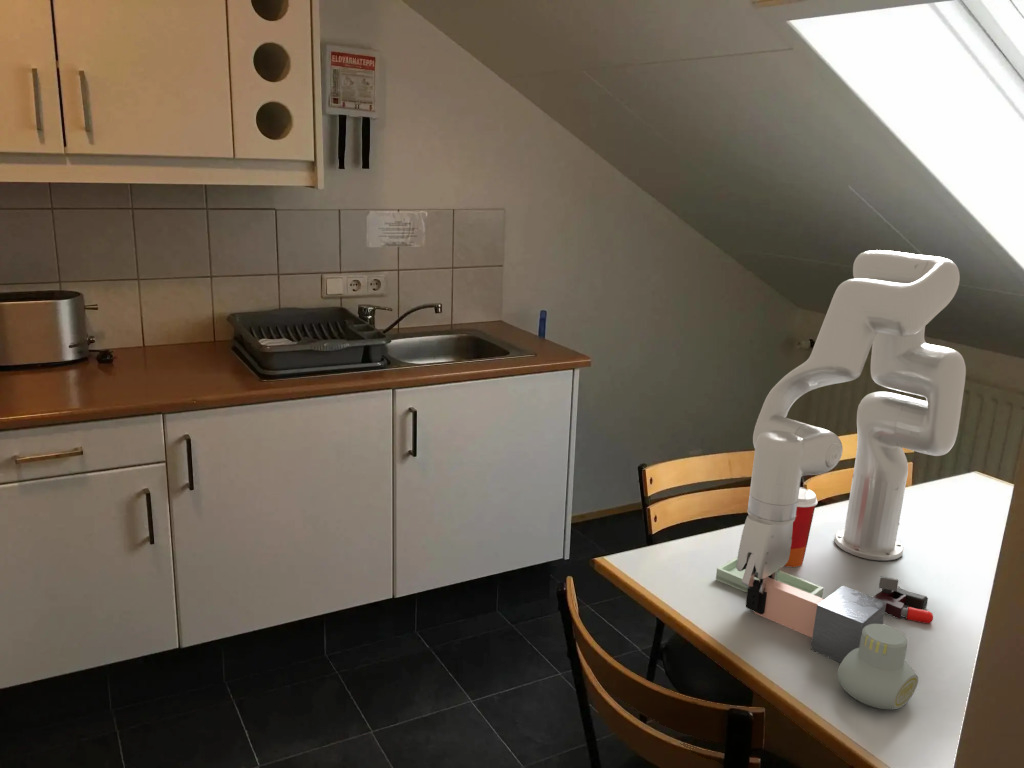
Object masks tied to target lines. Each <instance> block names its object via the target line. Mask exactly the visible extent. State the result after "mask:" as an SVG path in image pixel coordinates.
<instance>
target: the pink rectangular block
mask: <svg viewBox="0 0 1024 768" xmlns="http://www.w3.org/2000/svg"><path fill="white" fill-rule="evenodd" d="M759 582H760V580H759ZM765 592H767V596H766V604H765V611H764V613H763V614H759V613H757V612H755V611H753V612H754V614H755V615H758V616H760V617H762V618H765V619H767V620H770V621H773V622H775V623H777V624H779V625H782V626H783V627H787V628H789V629H791V630H793V631H795V632H797V633H800V634H802V635H804V636H807V637H809V638H812V637H813V630H814V623H815V617H816V610H817V605H818V604H819V603H820V602H822V601H823V600H824V599H825V598H823V597H822V598H820V597H818V596H815V595H812V594H810V593H807V592H805V591H802V590H800V589H797V588H795V587H792V586H790V585H787V584H784V583H782V582H779V581H777V580H774V579H772V578H769V577H767V580H766V588H765Z"/></svg>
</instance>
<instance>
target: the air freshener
mask: <svg viewBox="0 0 1024 768" xmlns="http://www.w3.org/2000/svg"><path fill="white" fill-rule="evenodd" d="M907 647H908V638H907V636H906V635H905V634H904V633H903V632H902V631H901V630H899V629H897V628H895V627H894V626H891V625H887V624H885V623H883V624H870V625H867V626H865V627H864V628H863V630H862V635H861V641H860V646H859V648H856V649H854V650H852V651H851V652H850V653H849V654H847V656H846V657H845V658H844V659H843V661H842V662H841V663H840V664H839V666H838V668H837V672H836V676H837V679H838V682H839V683H840V685H841V687H842V688H843V689H844V690H845V692H846V693H848V695H850V696H851V697H853V698H854V699H855V700H856V701H858V702H860V703H862V704H864V705H865V706H869V707H872V708H877V709H881V710H896V709H897V710H898V709H901V708H902V707H903V706H905V705H906V704H907V702H909V700H910V699H911V698H912V696H913V694H914V692H915V691H916V689H917V686H918V684H919V683H918V682H919V677H918V674H917V673H916V671H915V670H914V668H913V667H912V666H911V665H910V664H909V663H908V662H907V661H906V660H905V659H906V653H907Z"/></svg>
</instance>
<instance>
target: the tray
mask: <svg viewBox="0 0 1024 768" xmlns="http://www.w3.org/2000/svg"><path fill="white" fill-rule="evenodd" d="M737 558H738V556H736V557H734V558H732V559H730V560H729V561H728V562H726V563H723V564H722V565H720V566H719V567H717V568H716V576H715V580H716V581H717V582H721V583H723V584H725V585H728V586H730V587H733V588H735V589H737V590H740V591H742V592H744V593H746V594H747V591H748V588H747V585H745V584H742V579H743V576H744V573H745V570H746V569H744V570H743V571H738V570H737V568H736V566H737ZM754 579H756V580H759V579H758V578H756V577H754ZM777 581H779V582H782V583H784V584H787V585H790V586H792V587H795V588H797V589H800V590H802V591H805V592H807V593H810V594H812V595H815V596H818V597H820V598H823V595H824V586H821V585H819V584H816V583H814V582H812V581H808V580H806V579H804V578H801V577H798V576H796V575H793V574H791V573H788V572H786V571H783V570H781V569H780V570H779V572H778V579H777Z"/></svg>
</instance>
